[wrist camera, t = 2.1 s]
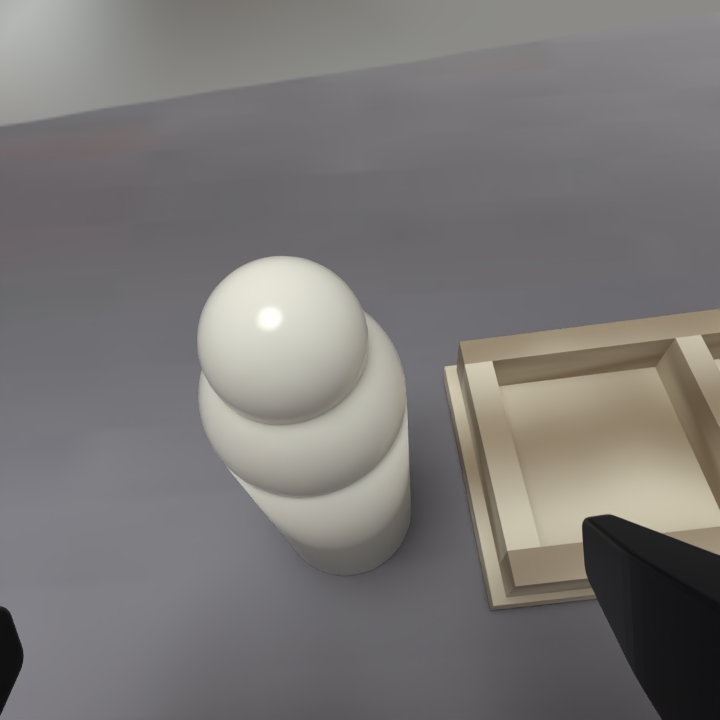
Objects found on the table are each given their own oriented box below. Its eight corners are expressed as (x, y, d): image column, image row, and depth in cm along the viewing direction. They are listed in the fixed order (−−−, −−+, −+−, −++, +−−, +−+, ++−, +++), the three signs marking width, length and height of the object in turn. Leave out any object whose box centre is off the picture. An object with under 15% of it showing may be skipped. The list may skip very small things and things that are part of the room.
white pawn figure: (420, 567, 19) (420, 389, 8) (285, 583, 19) (109, 427, 8) (402, 441, 22) (384, 178, 11) (283, 456, 22) (147, 211, 11)
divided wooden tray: (1014, 552, 18) (1113, 526, 15) (490, 610, 18) (501, 595, 16) (853, 328, 22) (908, 280, 20) (443, 378, 23) (446, 338, 20)
